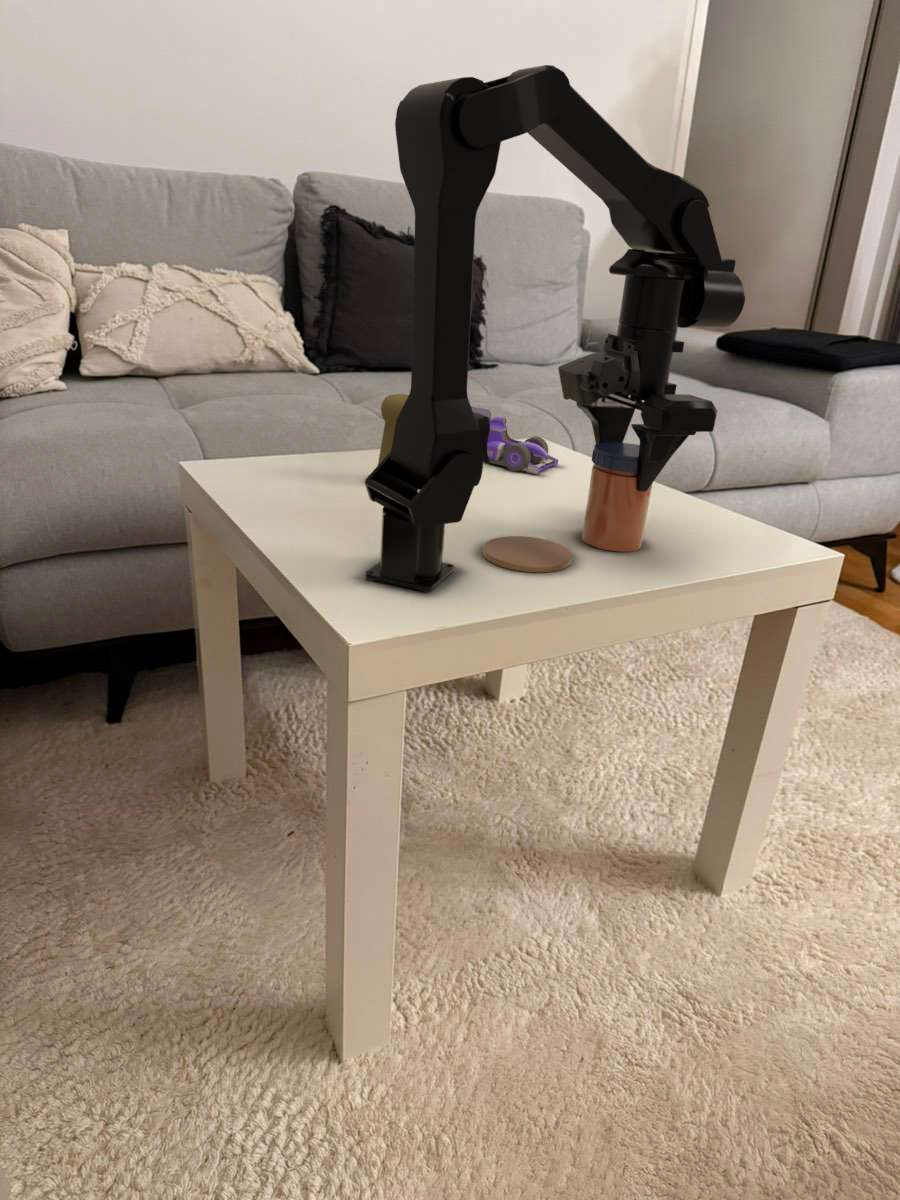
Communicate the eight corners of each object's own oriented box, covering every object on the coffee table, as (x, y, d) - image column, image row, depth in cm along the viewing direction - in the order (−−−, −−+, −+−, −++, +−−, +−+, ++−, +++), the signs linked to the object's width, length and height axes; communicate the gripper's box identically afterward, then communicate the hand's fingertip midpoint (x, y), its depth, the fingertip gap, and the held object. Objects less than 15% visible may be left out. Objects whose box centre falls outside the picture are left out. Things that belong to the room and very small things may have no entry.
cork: (416, 492, 104) (421, 401, 100) (369, 486, 105) (372, 396, 101) (427, 480, 110) (432, 394, 105) (382, 474, 111) (385, 388, 106)
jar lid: (616, 454, 94) (618, 439, 93) (672, 468, 89) (675, 452, 88) (578, 461, 89) (580, 445, 88) (635, 476, 84) (637, 460, 84)
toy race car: (534, 477, 115) (539, 430, 112) (438, 457, 121) (441, 412, 119) (561, 465, 123) (567, 420, 120) (470, 447, 129) (473, 403, 126)
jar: (635, 555, 88) (651, 467, 85) (575, 544, 90) (588, 457, 87) (645, 539, 94) (660, 455, 90) (588, 528, 96) (601, 445, 92)
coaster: (558, 579, 81) (559, 573, 80) (469, 561, 83) (470, 555, 83) (580, 551, 88) (581, 546, 88) (498, 535, 91) (499, 530, 91)
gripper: (531, 313, 88) (514, 461, 94) (632, 336, 73) (605, 511, 79) (621, 318, 93) (600, 458, 99) (735, 340, 77) (702, 506, 83)
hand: (622, 481), depth 90 cm, fingers closed on jar lid, 6 cm apart
